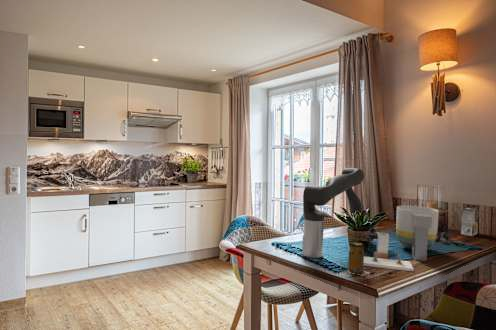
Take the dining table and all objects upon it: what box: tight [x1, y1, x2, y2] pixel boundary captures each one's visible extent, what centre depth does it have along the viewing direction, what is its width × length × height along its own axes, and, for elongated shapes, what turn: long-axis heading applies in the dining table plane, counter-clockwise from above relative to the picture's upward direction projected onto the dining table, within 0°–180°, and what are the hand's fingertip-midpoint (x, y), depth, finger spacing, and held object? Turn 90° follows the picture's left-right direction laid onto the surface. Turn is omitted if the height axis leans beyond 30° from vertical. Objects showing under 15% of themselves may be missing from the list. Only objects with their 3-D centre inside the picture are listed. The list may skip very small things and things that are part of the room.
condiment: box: [347, 241, 371, 278], centre depth 143 cm, size 7×8×12 cm
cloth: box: [434, 231, 463, 248], centre depth 196 cm, size 22×19×6 cm
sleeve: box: [376, 232, 390, 259], centre depth 166 cm, size 5×5×11 cm
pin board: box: [363, 251, 415, 272], centre depth 154 cm, size 20×10×5 cm, turn 74°
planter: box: [395, 205, 440, 251], centre depth 180 cm, size 20×20×21 cm
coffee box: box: [460, 207, 480, 237], centre depth 218 cm, size 9×6×16 cm
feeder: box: [411, 213, 432, 262], centre depth 165 cm, size 7×9×21 cm
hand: (378, 240), depth 172 cm, fingers open, 8 cm apart
